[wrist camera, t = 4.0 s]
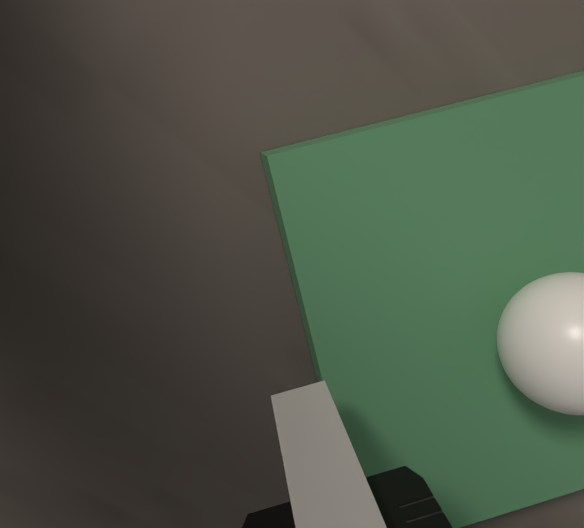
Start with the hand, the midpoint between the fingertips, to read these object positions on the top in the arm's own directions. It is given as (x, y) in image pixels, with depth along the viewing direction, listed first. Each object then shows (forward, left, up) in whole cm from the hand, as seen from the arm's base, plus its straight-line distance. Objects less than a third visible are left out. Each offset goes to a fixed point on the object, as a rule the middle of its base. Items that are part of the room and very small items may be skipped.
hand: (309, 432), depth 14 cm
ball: (+8, 0, 0) cm, 8 cm away
